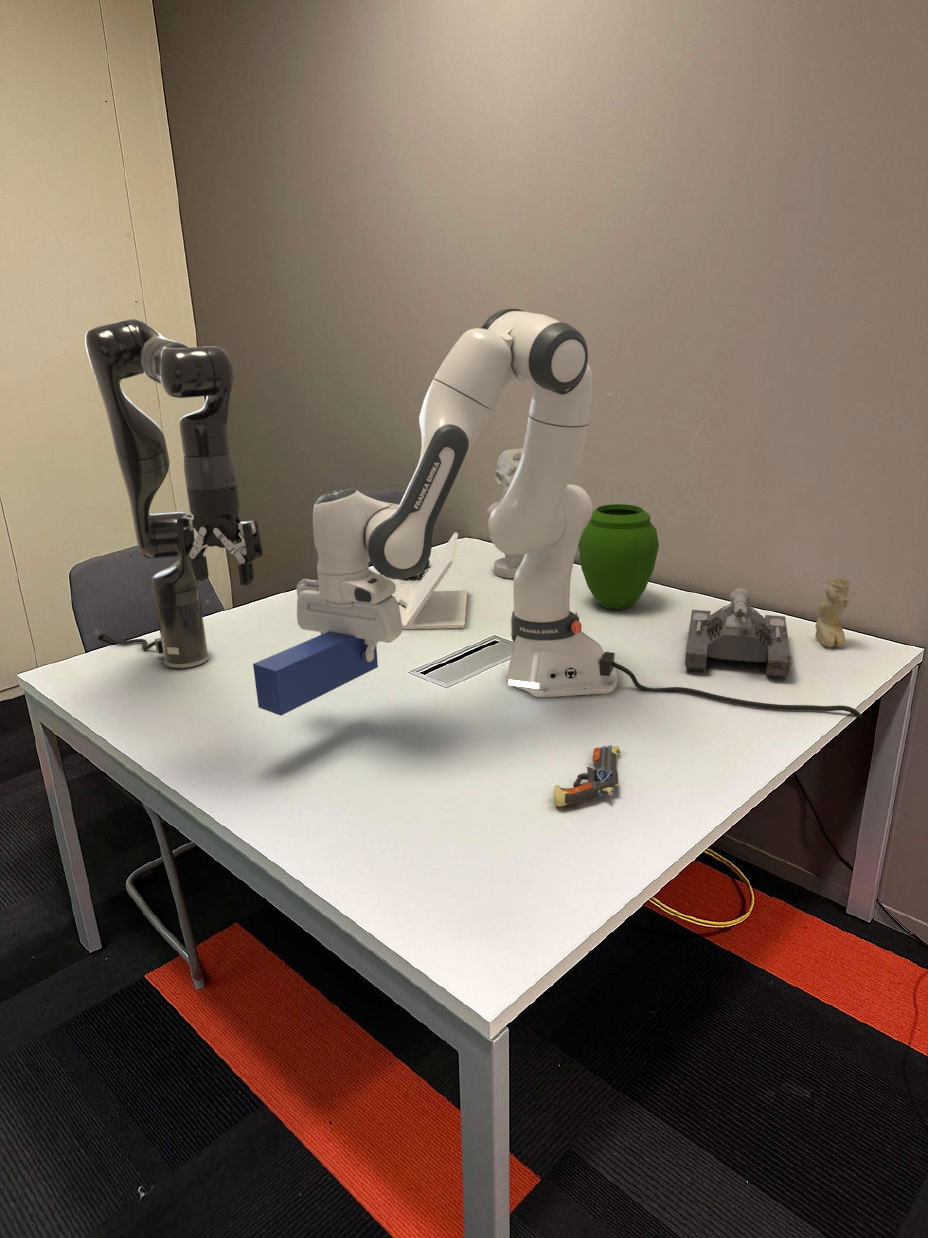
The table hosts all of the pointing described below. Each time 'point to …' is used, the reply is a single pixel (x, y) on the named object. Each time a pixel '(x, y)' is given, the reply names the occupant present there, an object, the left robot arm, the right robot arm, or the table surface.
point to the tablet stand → (434, 597)
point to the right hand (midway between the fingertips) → (351, 657)
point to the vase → (618, 554)
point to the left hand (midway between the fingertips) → (224, 582)
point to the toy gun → (592, 778)
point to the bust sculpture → (503, 478)
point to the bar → (309, 671)
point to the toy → (738, 637)
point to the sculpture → (832, 613)
